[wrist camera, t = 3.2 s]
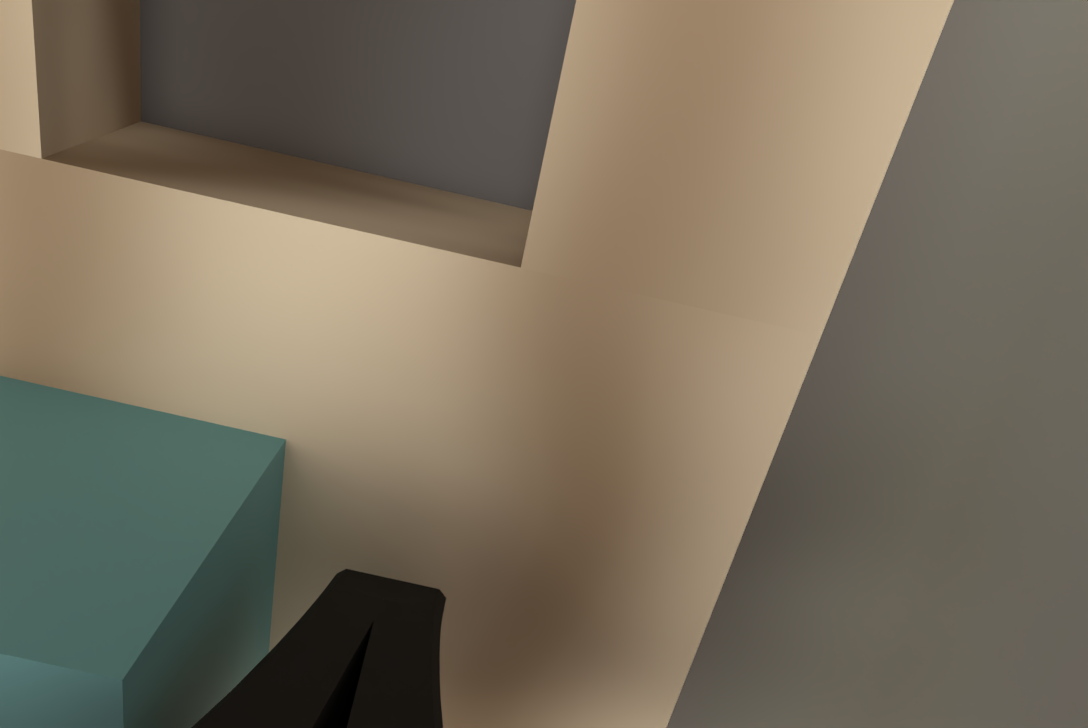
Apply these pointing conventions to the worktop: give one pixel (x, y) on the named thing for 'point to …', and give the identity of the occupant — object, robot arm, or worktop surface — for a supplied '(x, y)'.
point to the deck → (462, 285)
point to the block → (129, 560)
